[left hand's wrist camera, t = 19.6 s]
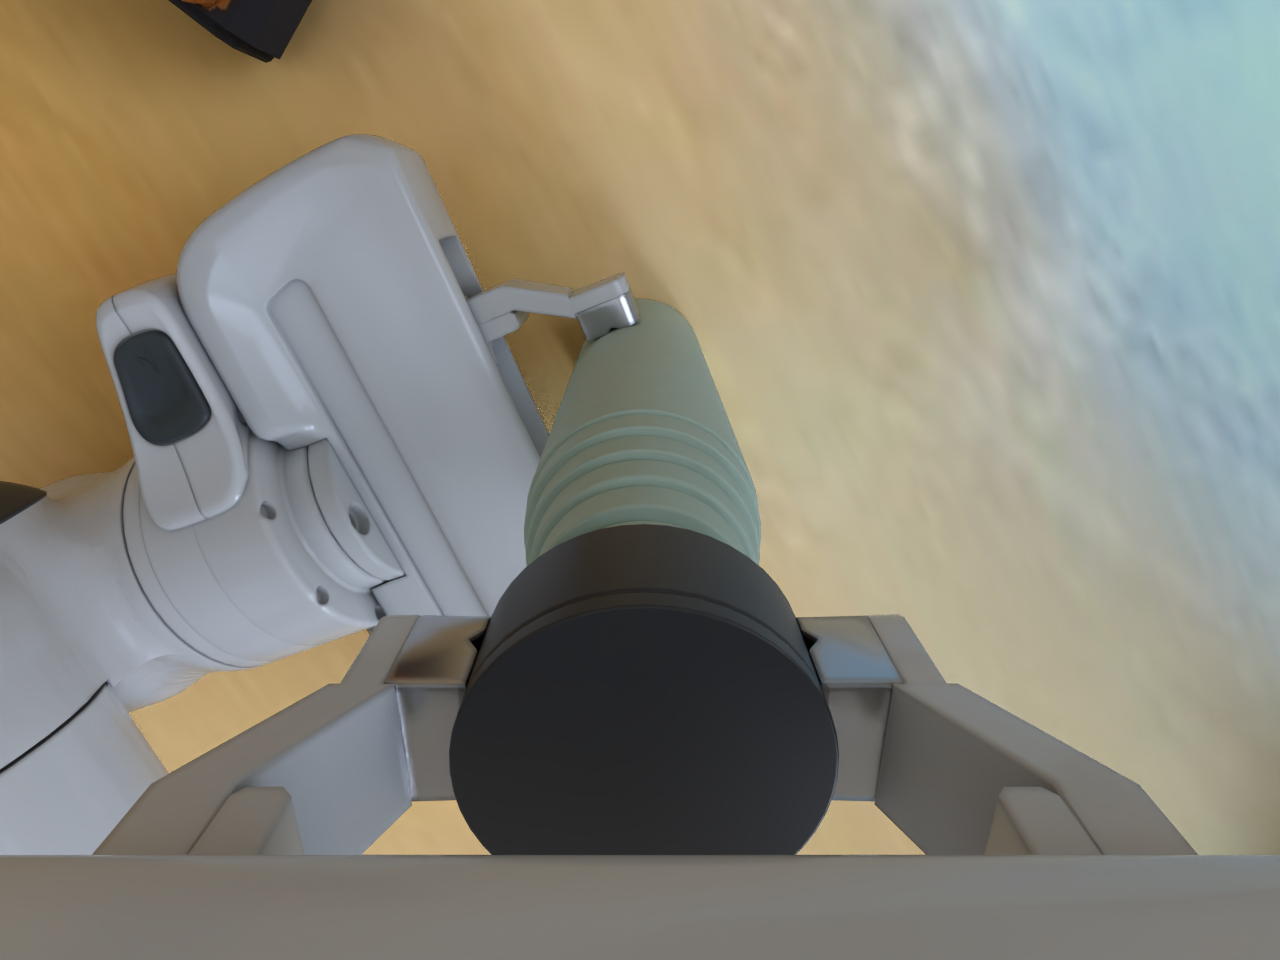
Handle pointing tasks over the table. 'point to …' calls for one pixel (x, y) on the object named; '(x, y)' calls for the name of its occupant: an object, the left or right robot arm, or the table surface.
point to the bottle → (642, 443)
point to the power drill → (249, 23)
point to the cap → (643, 706)
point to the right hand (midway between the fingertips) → (665, 381)
